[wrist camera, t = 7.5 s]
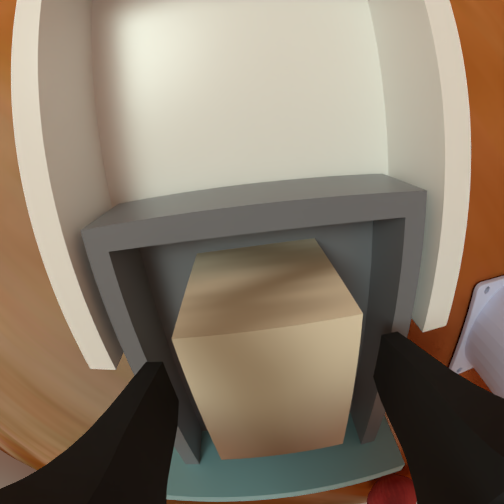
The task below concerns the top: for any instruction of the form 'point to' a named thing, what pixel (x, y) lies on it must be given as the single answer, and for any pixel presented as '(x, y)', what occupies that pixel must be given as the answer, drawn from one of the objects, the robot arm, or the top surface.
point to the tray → (252, 234)
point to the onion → (392, 491)
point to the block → (269, 348)
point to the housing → (233, 118)
